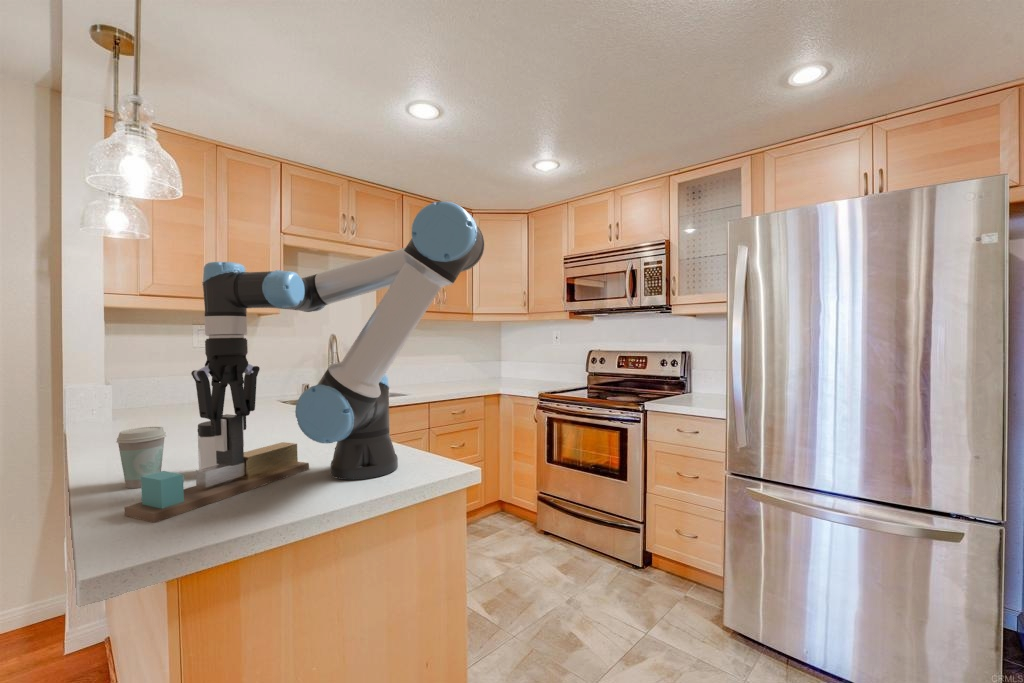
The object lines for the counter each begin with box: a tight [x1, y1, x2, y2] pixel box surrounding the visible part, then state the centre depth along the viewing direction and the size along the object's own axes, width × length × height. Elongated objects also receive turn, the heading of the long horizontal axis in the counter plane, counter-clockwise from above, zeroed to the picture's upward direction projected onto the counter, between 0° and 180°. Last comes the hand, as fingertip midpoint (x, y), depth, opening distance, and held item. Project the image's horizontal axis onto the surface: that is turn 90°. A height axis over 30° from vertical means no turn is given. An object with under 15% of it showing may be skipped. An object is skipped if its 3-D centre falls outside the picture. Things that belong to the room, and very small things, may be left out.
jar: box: [197, 420, 218, 470], centre depth 107 cm, size 9×8×12 cm
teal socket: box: [141, 470, 185, 509], centre depth 83 cm, size 4×6×5 cm, turn 67°
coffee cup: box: [115, 426, 167, 489], centre depth 100 cm, size 8×8×12 cm
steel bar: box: [195, 413, 246, 487], centre depth 99 cm, size 20×5×13 cm, turn 157°
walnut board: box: [123, 461, 310, 523], centre depth 95 cm, size 33×9×2 cm, turn 157°
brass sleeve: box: [237, 441, 299, 480], centre depth 103 cm, size 13×5×5 cm, turn 157°
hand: (229, 448), depth 95 cm, fingers open, 3 cm apart
